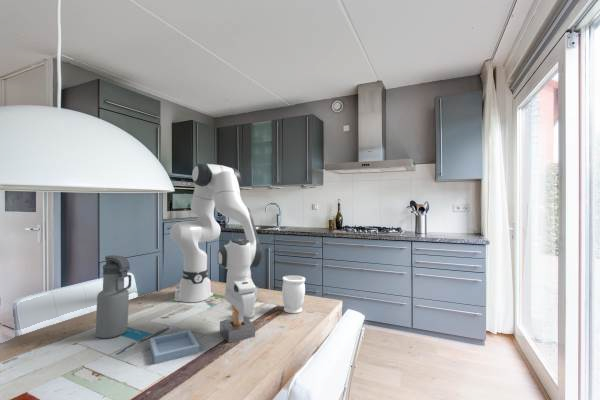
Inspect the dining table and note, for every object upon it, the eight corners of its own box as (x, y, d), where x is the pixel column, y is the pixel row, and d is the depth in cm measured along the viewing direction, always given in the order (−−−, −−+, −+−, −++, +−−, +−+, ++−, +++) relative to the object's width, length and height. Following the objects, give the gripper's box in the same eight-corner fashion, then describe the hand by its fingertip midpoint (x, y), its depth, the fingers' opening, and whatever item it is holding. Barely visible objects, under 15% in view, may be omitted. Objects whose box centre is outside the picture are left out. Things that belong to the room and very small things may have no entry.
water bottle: (134, 329, 109) (137, 255, 109) (111, 341, 100) (114, 260, 100) (113, 325, 112) (115, 253, 112) (88, 336, 103) (91, 257, 103)
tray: (149, 345, 98) (149, 338, 98) (189, 336, 105) (190, 329, 105) (154, 364, 87) (155, 356, 87) (199, 352, 94) (199, 345, 94)
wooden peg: (229, 333, 109) (230, 303, 109) (240, 330, 111) (241, 302, 111) (233, 337, 105) (234, 307, 105) (244, 335, 108) (245, 305, 108)
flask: (252, 320, 121) (252, 296, 121) (235, 318, 123) (236, 294, 123) (257, 313, 128) (258, 291, 128) (242, 312, 130) (243, 289, 130)
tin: (253, 299, 147) (253, 282, 147) (259, 299, 146) (259, 283, 146) (241, 310, 132) (242, 291, 132) (247, 310, 132) (248, 292, 132)
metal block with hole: (219, 331, 110) (219, 321, 110) (244, 326, 115) (244, 316, 115) (228, 343, 101) (229, 331, 101) (254, 336, 107) (255, 325, 107)
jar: (306, 307, 138) (307, 276, 138) (302, 315, 128) (303, 281, 128) (284, 305, 140) (285, 274, 140) (279, 313, 129) (280, 279, 130)
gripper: (221, 276, 115) (220, 311, 115) (241, 290, 98) (239, 331, 98) (236, 274, 119) (235, 308, 119) (257, 288, 102) (256, 327, 102)
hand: (237, 319), depth 108 cm, fingers closed on wooden peg, 4 cm apart
